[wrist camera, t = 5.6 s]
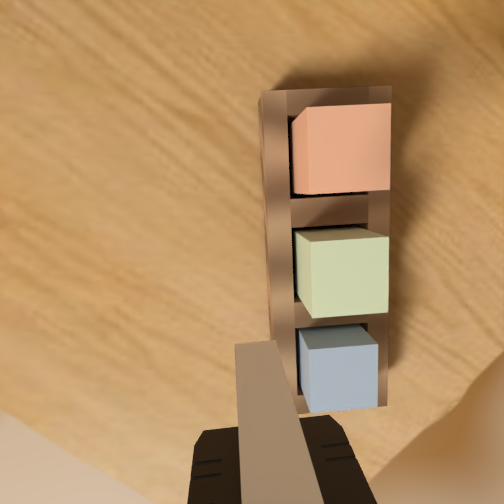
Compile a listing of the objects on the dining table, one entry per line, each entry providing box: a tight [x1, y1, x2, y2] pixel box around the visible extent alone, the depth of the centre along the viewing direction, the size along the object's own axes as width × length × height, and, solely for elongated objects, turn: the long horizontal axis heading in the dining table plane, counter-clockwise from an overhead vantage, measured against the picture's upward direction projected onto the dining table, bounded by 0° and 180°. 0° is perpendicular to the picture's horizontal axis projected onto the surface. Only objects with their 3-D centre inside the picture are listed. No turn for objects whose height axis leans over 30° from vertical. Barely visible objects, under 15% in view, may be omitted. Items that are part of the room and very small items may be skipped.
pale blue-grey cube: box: [295, 323, 378, 413], centre depth 34 cm, size 6×6×7 cm
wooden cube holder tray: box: [258, 85, 392, 414], centre depth 34 cm, size 30×11×4 cm, turn 3°
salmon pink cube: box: [290, 103, 391, 194], centre depth 29 cm, size 6×6×7 cm
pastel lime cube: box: [294, 227, 389, 318], centre depth 30 cm, size 6×6×7 cm
